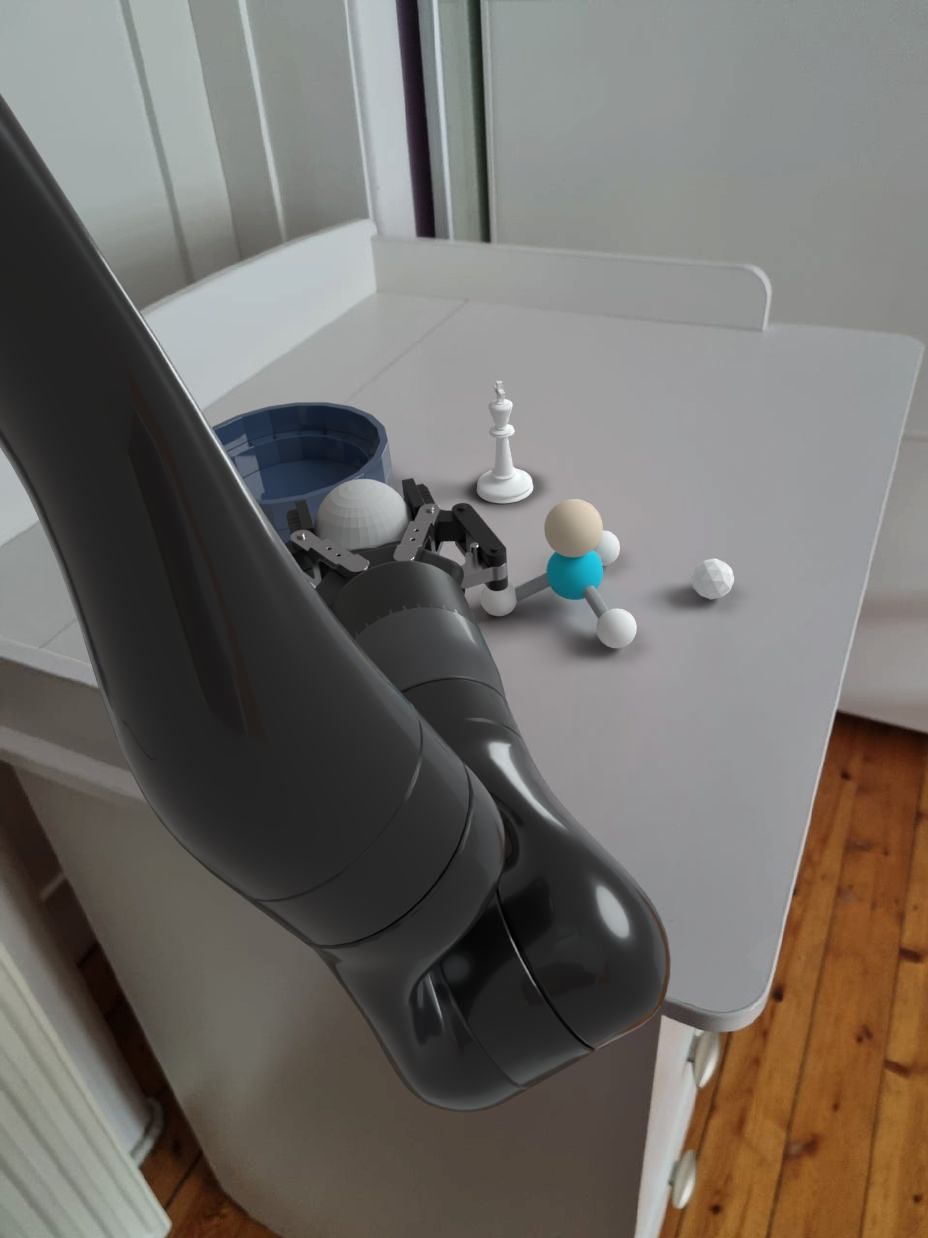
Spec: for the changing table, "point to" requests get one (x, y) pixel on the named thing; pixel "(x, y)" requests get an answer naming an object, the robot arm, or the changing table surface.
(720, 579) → the polyhedron
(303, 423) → the bowl
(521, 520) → the changing table surface
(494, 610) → the molecule model
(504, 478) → the chess piece
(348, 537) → the lollipop
